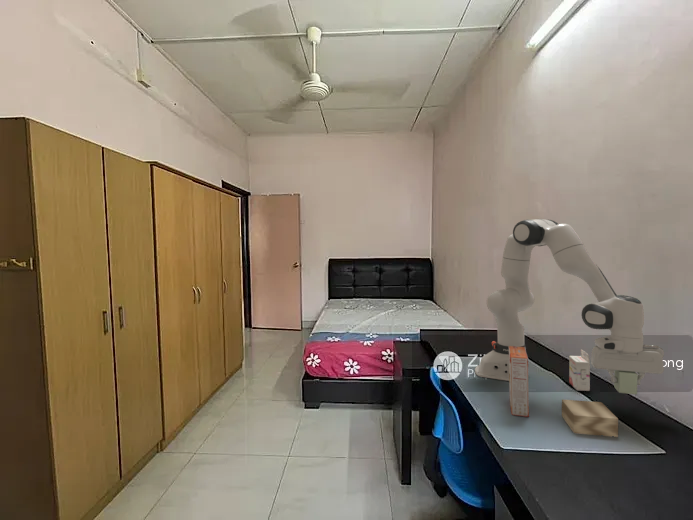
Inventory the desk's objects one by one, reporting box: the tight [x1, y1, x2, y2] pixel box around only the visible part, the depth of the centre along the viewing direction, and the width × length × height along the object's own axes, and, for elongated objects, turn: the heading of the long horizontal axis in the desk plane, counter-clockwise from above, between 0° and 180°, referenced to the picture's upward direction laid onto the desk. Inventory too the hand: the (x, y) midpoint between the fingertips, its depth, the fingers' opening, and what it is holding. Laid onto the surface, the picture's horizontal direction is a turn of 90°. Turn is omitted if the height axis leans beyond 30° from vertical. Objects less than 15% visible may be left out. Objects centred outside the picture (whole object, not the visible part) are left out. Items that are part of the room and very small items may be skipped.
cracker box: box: [508, 346, 530, 418], centre depth 135 cm, size 14×6×21 cm, turn 159°
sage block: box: [613, 370, 639, 395], centre depth 128 cm, size 5×5×7 cm
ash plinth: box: [561, 399, 619, 438], centre depth 121 cm, size 12×12×6 cm
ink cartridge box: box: [568, 349, 591, 392], centre depth 153 cm, size 9×5×15 cm, turn 168°
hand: (625, 383), depth 128 cm, fingers closed on sage block, 5 cm apart
